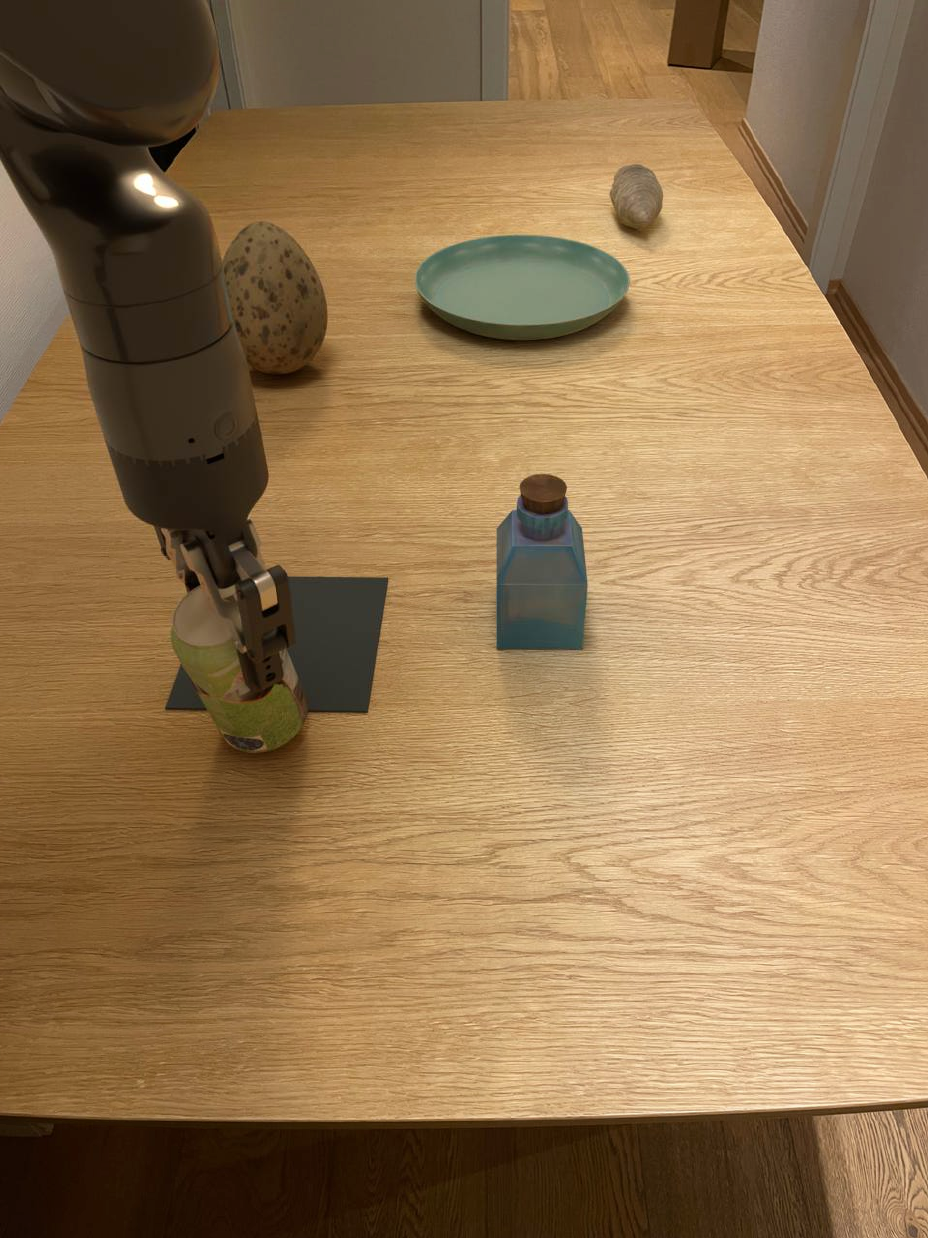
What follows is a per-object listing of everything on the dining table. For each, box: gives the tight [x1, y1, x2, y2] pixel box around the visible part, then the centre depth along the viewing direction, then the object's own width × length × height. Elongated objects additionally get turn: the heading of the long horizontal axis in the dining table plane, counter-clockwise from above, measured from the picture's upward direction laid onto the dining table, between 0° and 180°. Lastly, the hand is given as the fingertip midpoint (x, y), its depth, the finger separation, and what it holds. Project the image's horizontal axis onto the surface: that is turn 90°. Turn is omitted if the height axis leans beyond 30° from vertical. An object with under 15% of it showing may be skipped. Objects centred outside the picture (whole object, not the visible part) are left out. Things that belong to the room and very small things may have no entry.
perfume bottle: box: [495, 473, 589, 650], centre depth 68 cm, size 6×6×12 cm
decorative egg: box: [222, 220, 329, 375], centre depth 96 cm, size 11×11×15 cm
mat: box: [164, 575, 389, 713], centre depth 72 cm, size 14×14×1 cm
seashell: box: [608, 163, 664, 229], centre depth 126 cm, size 6×14×8 cm, turn 3°
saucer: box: [414, 234, 631, 341], centre depth 111 cm, size 24×24×3 cm
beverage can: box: [170, 585, 309, 754], centre depth 61 cm, size 6×7×12 cm
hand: (240, 652), depth 60 cm, fingers closed on beverage can, 6 cm apart
